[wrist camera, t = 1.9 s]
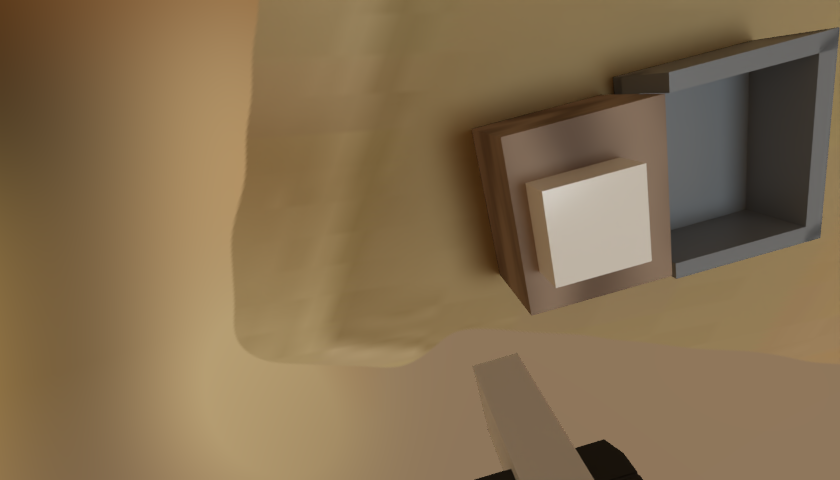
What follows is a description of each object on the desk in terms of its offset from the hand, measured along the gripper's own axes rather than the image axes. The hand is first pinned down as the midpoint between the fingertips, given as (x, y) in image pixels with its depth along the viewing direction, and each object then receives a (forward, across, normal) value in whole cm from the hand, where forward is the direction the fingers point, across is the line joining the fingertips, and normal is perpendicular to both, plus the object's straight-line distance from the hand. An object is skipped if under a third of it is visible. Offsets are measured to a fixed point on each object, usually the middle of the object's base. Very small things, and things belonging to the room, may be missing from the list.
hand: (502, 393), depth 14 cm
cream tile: (+13, +9, 0) cm, 16 cm away
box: (+20, +22, 0) cm, 29 cm away
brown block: (+20, +10, 0) cm, 22 cm away
